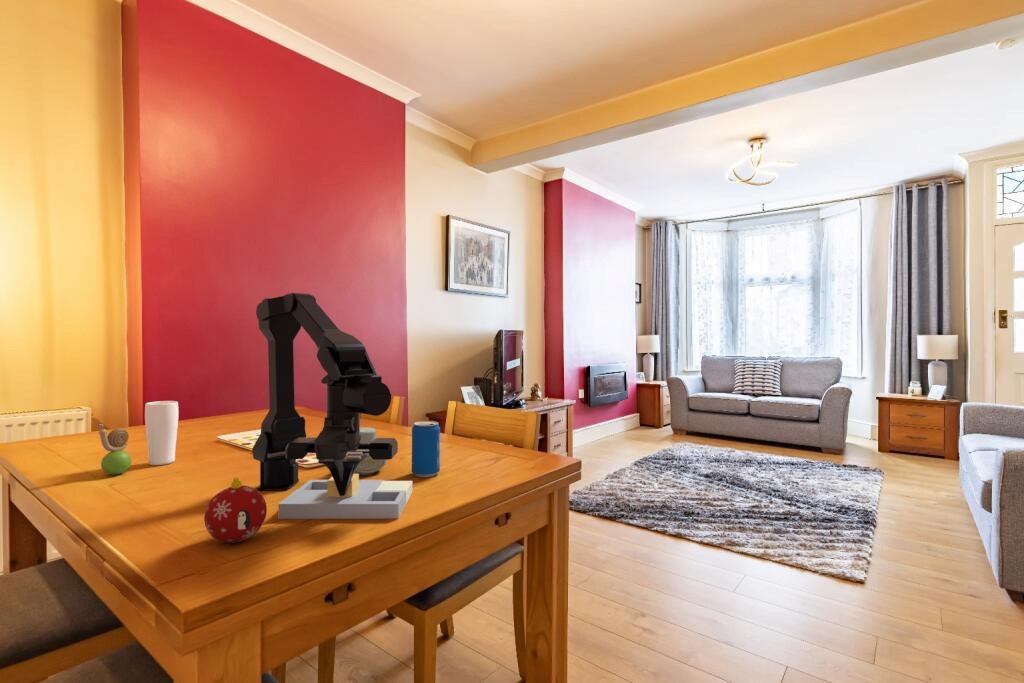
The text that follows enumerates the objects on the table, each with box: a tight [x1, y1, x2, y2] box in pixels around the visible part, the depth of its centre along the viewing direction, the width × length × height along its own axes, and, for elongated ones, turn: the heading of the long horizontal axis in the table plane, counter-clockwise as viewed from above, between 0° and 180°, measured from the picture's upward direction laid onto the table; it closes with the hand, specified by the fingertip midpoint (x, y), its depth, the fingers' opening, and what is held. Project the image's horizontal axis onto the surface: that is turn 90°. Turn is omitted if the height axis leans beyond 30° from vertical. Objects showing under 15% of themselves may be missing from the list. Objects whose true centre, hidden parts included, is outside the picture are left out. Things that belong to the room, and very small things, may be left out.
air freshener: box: [344, 427, 388, 476], centre depth 117 cm, size 11×8×10 cm
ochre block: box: [327, 474, 360, 497], centre depth 94 cm, size 4×4×3 cm
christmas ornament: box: [203, 476, 268, 544], centre depth 78 cm, size 9×9×10 cm
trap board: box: [278, 479, 414, 520], centre depth 95 cm, size 21×15×3 cm
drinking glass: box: [144, 400, 180, 466], centre depth 122 cm, size 7×7×15 cm
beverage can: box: [411, 420, 441, 478], centre depth 116 cm, size 6×6×12 cm
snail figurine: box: [97, 423, 133, 476], centre depth 112 cm, size 5×6×12 cm
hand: (342, 495), depth 90 cm, fingers closed, pressing on ochre block
